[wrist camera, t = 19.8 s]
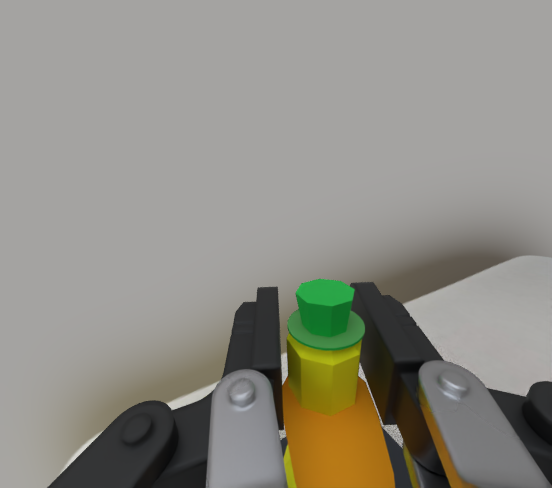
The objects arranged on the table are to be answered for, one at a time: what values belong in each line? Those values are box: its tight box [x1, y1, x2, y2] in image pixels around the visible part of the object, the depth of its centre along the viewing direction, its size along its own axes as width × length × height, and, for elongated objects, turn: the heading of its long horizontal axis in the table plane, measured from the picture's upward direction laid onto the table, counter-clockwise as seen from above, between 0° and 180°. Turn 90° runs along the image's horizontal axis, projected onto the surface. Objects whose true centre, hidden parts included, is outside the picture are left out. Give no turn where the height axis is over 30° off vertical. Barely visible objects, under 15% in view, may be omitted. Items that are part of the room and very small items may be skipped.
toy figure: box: [282, 279, 395, 488], centre depth 9 cm, size 7×4×12 cm, turn 2°
